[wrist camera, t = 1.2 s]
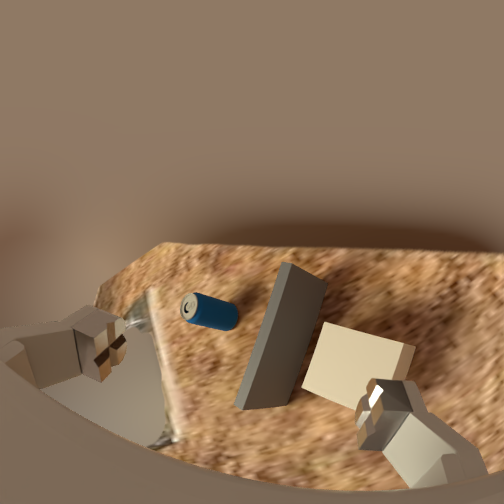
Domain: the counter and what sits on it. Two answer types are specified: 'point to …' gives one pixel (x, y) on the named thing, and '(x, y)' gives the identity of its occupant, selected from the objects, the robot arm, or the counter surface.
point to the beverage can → (208, 311)
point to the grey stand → (282, 339)
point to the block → (353, 363)
